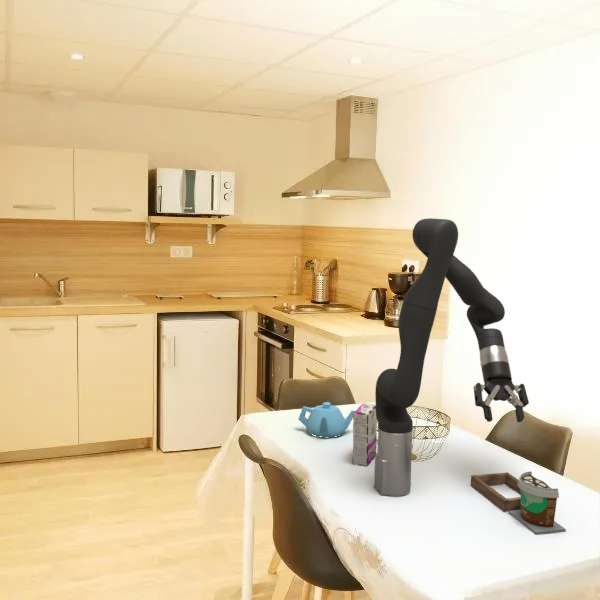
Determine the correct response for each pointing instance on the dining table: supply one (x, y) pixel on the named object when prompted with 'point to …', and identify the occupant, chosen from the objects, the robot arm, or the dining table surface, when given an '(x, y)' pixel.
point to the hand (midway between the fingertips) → (505, 421)
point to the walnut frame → (483, 487)
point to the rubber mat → (534, 528)
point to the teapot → (325, 420)
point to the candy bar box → (364, 434)
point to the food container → (537, 501)
